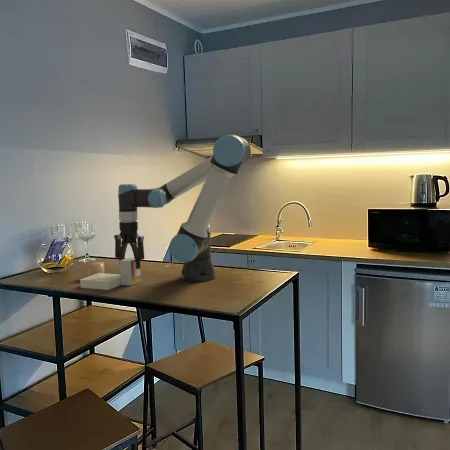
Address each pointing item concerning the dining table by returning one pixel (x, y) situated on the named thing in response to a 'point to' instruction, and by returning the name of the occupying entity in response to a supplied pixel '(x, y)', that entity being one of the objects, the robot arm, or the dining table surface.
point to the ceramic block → (101, 281)
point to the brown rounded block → (95, 268)
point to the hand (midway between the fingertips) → (130, 275)
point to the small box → (129, 272)
